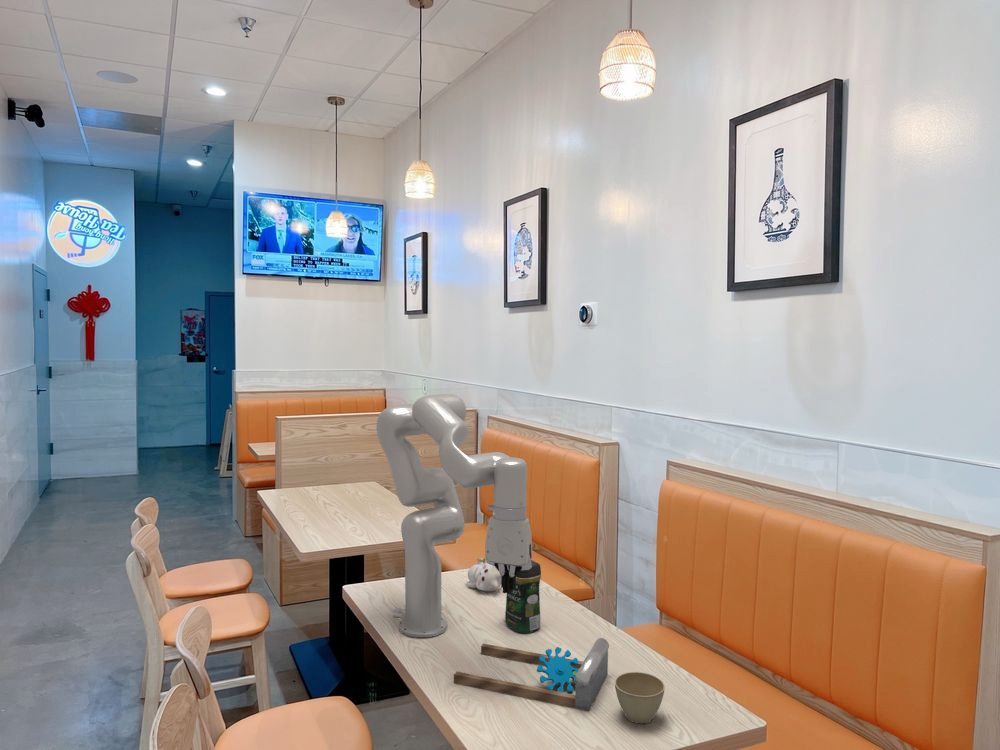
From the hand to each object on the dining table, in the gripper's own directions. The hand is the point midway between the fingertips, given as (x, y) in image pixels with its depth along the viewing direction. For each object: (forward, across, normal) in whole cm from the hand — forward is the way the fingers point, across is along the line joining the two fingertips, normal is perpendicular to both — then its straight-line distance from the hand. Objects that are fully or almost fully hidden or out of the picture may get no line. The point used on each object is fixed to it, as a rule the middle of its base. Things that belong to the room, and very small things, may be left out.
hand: (508, 591), depth 161 cm
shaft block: (+19, +20, 0) cm, 28 cm away
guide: (+19, +5, 0) cm, 20 cm away
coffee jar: (+20, -5, +26) cm, 33 cm away
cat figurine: (+20, -25, +47) cm, 57 cm away
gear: (+19, +13, -1) cm, 24 cm away
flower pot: (+19, +32, -7) cm, 38 cm away
